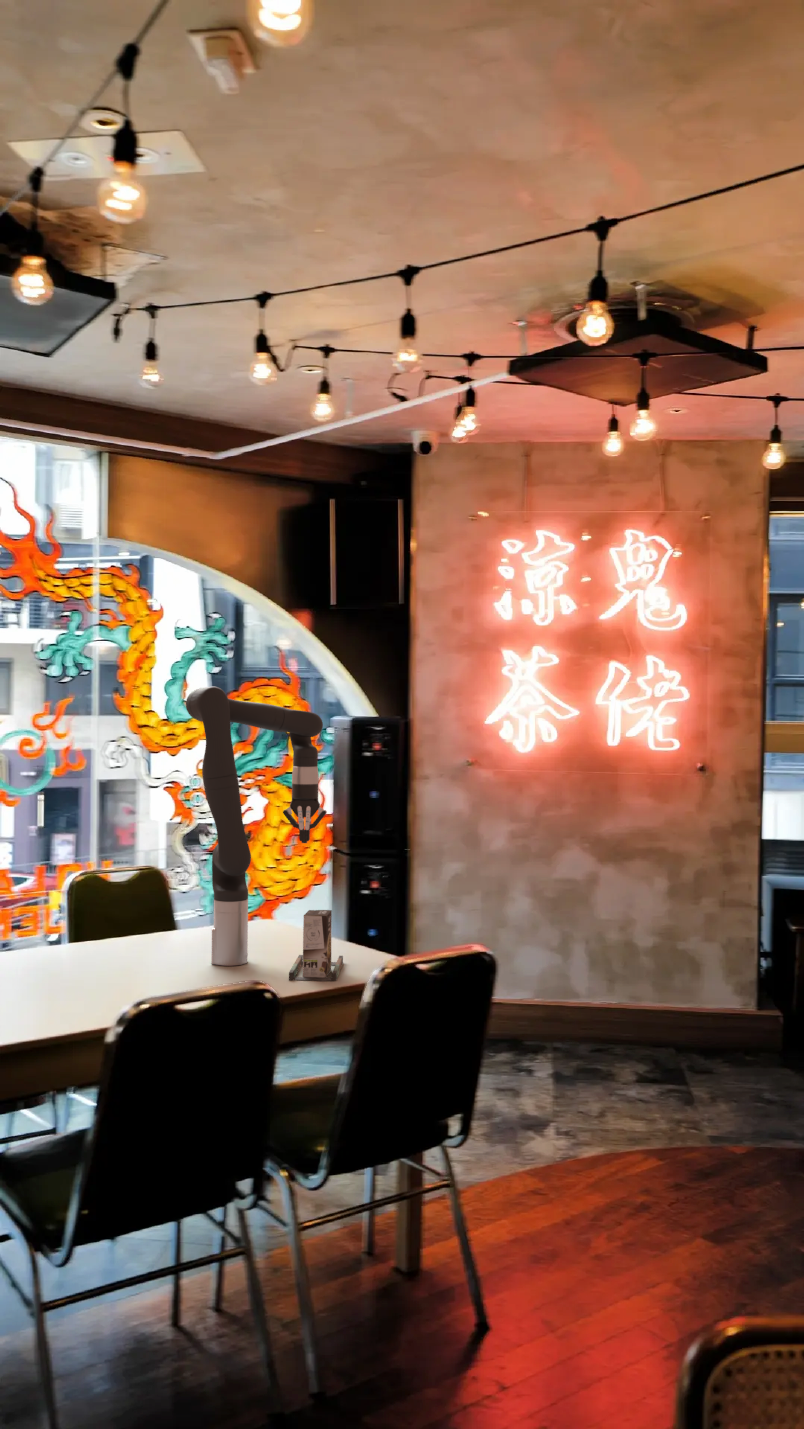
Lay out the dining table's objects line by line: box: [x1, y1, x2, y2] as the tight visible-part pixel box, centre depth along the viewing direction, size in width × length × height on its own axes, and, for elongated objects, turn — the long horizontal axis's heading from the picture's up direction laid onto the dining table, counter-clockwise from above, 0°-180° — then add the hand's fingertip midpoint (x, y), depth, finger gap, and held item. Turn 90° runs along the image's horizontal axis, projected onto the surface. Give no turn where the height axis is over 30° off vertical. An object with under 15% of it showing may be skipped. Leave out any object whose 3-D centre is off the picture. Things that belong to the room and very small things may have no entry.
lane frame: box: [288, 954, 344, 982], centre depth 298 cm, size 12×21×2 cm, turn 178°
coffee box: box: [302, 909, 333, 978], centre depth 295 cm, size 9×6×16 cm
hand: (304, 842), depth 322 cm, fingers closed
